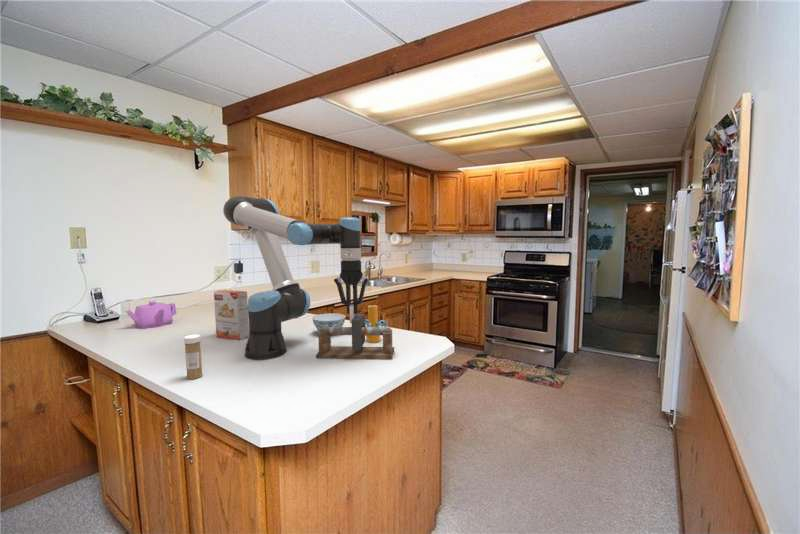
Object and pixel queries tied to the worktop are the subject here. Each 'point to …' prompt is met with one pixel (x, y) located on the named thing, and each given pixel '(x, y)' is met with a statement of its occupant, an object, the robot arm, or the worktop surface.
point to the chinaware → (328, 320)
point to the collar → (358, 331)
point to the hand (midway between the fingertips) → (352, 322)
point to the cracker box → (231, 314)
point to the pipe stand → (347, 351)
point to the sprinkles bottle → (193, 356)
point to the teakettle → (153, 314)
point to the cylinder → (373, 323)
